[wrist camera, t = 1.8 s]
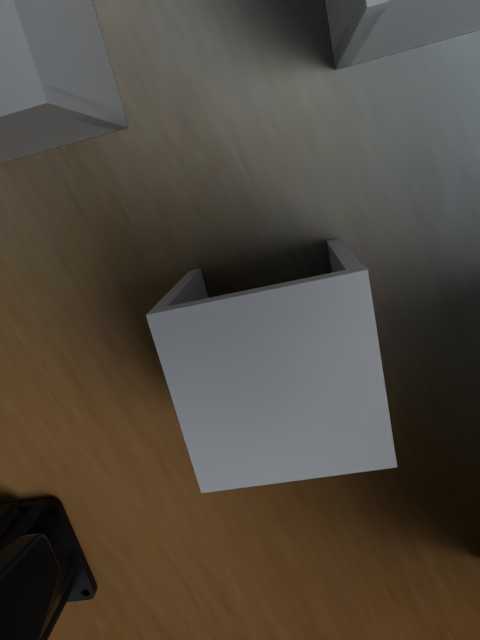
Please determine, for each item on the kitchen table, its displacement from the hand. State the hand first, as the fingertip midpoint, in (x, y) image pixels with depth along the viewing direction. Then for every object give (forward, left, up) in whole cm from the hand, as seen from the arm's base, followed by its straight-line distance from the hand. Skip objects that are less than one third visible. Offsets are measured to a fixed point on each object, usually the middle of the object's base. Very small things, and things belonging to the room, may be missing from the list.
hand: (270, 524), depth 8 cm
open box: (0, 0, -11) cm, 11 cm away
